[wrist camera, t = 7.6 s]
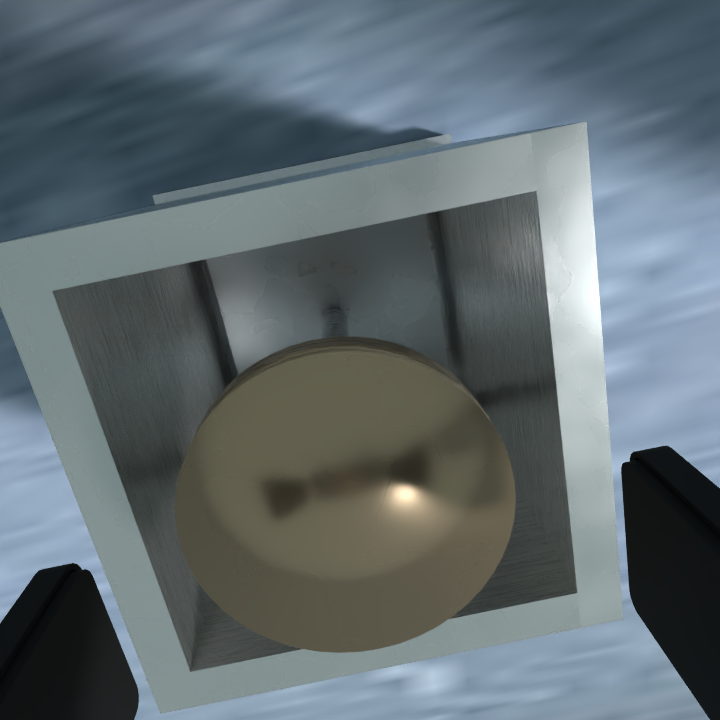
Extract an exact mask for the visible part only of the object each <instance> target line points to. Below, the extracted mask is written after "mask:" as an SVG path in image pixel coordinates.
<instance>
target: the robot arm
mask: <svg viewBox="0 0 720 720" xmlns="http://www.w3.org/2000/svg"><path fill="white" fill-rule="evenodd" d="M621 474H622V488H623V503H624V518H625V533H626V547H627V562H628V577H629V590H630V596H631V599H632V602H633V605H634V607H635V609H636V611H637V613H638V615H639V616H640V618H641V619H642V620H643V622H644V623H645V625H646V626H647V628H648V629H649V631H650V632H651V634H652V635H653V637H654V638H655V640H656V641H657V642H658V644H659V645H660V647H661V648H662V650H663V651H664V653H665V654H666V656H667V657H668V659H669V660H670V662H671V663H672V664H673V666H674V667H675V669H676V670H677V672H678V673H679V675H680V676H681V678H682V679H683V681H684V682H685V684H686V685H687V686H688V688H689V689H690V691H691V692H692V694H693V695H694V697H695V698H696V700H697V701H698V703H699V704H700V706H701V707H702V708H703V710H704V711H705V713H706V714H707V716H708V717H709V719H710V720H720V488H719V487H717V486H716V485H715V484H714V483H713V482H711V481H710V480H709V479H708V478H707V477H705V476H704V475H703V474H702V473H701V472H699V471H698V470H697V469H696V468H695V467H693V466H692V465H691V464H690V463H689V462H688V461H686V460H685V459H684V458H683V457H682V456H680V455H679V454H678V453H677V452H676V451H674V450H673V449H672V448H670V447H669V446H661V447H656V448H651V449H646V450H641V451H636V452H633V453H632V454H631V457H630V462H625V463H623V464H622V467H621ZM138 702H139V694H138V688H137V685H136V682H135V680H134V677H133V675H132V672H131V670H130V667H129V665H128V662H127V660H126V658H125V655H124V653H123V650H122V648H121V645H120V643H119V640H118V638H117V635H116V633H115V630H114V628H113V625H112V623H111V620H110V618H109V615H108V613H107V610H106V608H105V605H104V603H103V600H102V598H101V595H100V593H99V590H98V588H97V585H96V583H95V581H94V578H93V576H92V574H91V572H90V571H88V570H82V569H81V567H79V566H78V565H77V564H74V563H72V564H67V565H62V566H57V567H52V568H47V569H42V570H39V571H38V572H37V573H36V574H35V576H34V577H33V578H32V580H31V581H30V583H29V584H28V585H27V587H26V588H25V590H24V591H23V592H22V594H21V595H20V597H19V598H18V599H17V601H16V602H15V604H14V605H13V606H12V608H11V609H10V611H9V612H8V613H7V615H6V616H5V618H4V619H3V620H2V622H1V623H0V720H134V718H135V715H136V712H137V709H138Z"/></svg>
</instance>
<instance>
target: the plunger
mask: <svg viewBox="0 0 720 720" xmlns="http://www.w3.org/2000/svg"><path fill="white" fill-rule="evenodd" d="M206 260H207V264H208V267H209V271H210V274H211V278H212V282H213V285H214V289H215V292H216V296H217V300H218V303H219V307H220V311H221V314H222V318H223V321H224V325H225V329H226V332H227V336H228V339H229V343H230V347H231V350H232V354H233V358H234V361H235V365H236V368H237V372H238V376H237V377H235V378H234V379H233V380H232V381H231V382H230V383H229V384H228V385H227V386H226V387H225V388H224V389H223V390H222V392H221V393H220V394H219V395H218V397H217V398H216V399H215V401H214V402H213V403H212V405H211V406H210V407H209V409H208V410H207V412H206V414H205V416H204V418H203V420H202V421H201V423H200V425H199V427H198V429H197V431H196V433H195V436H194V438H193V440H192V442H191V444H190V446H189V448H188V450H187V453H186V456H185V458H184V461H183V464H182V467H181V469H180V473H179V478H178V483H177V487H176V496H175V518H176V528H177V533H178V537H179V541H180V545H181V549H182V552H183V554H184V556H185V559H186V561H187V563H188V566H189V568H190V570H191V571H192V573H193V575H194V576H195V578H196V580H197V581H198V583H199V585H200V586H201V587H202V588H203V590H204V591H205V592H206V593H207V594H208V596H209V597H210V598H211V599H212V600H213V601H214V602H215V603H216V604H217V605H218V606H219V607H220V608H221V609H222V610H223V611H224V612H225V613H226V614H228V615H229V616H231V617H232V618H233V619H235V620H236V621H237V622H239V623H240V624H241V625H243V626H245V627H247V628H248V629H250V630H252V631H254V632H256V633H257V634H259V635H261V636H264V637H266V638H269V639H271V640H273V641H276V642H278V643H282V644H285V645H289V646H292V647H296V648H300V649H306V650H312V651H318V652H333V653H346V652H362V651H369V650H375V649H381V648H385V647H389V646H392V645H396V644H400V643H402V642H405V641H408V640H410V639H413V638H416V637H418V636H420V635H422V634H424V633H426V632H428V631H430V630H432V629H434V628H436V627H438V626H439V625H441V624H442V623H444V622H445V621H447V620H448V619H450V618H451V617H453V616H454V615H455V614H456V613H458V612H459V611H460V610H461V609H462V608H464V607H465V606H466V605H467V604H468V603H469V602H470V601H471V600H472V599H473V598H474V597H475V596H476V595H477V594H478V593H479V592H480V591H481V590H482V588H483V587H484V586H485V584H486V583H487V582H488V580H489V579H490V577H491V576H492V575H493V573H494V571H495V570H496V568H497V566H498V564H499V562H500V561H501V559H502V557H503V555H504V552H505V549H506V547H507V544H508V542H509V539H510V535H511V531H512V527H513V523H514V516H515V505H516V495H515V481H514V476H513V471H512V466H511V462H510V459H509V456H508V454H507V451H506V448H505V446H504V443H503V441H502V440H501V438H500V436H499V434H498V432H497V431H496V429H495V427H494V425H493V424H492V422H491V421H490V419H489V418H488V416H487V415H486V413H485V411H484V410H483V408H482V407H481V405H480V404H479V402H478V401H477V400H476V399H475V397H474V396H473V395H472V393H471V392H470V391H469V389H468V388H467V387H466V386H465V385H464V384H463V383H462V382H461V381H460V380H459V379H458V378H457V377H456V376H455V375H454V374H453V373H451V372H450V371H449V365H448V358H447V352H446V346H445V340H444V333H443V327H442V321H441V314H440V308H439V302H438V296H437V289H436V283H435V277H434V271H433V264H432V258H431V252H430V245H429V239H428V233H427V227H426V220H425V214H421V215H416V216H412V217H407V218H402V219H397V220H392V221H388V222H383V223H378V224H373V225H368V226H363V227H359V228H354V229H349V230H344V231H339V232H334V233H330V234H325V235H320V236H315V237H310V238H305V239H301V240H296V241H291V242H286V243H281V244H276V245H272V246H267V247H262V248H257V249H252V250H248V251H243V252H238V253H233V254H228V255H223V256H219V257H214V258H209V259H206Z"/></svg>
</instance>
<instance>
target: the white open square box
mask: <svg viewBox="0 0 720 720" xmlns="http://www.w3.org/2000/svg"><path fill="white" fill-rule="evenodd" d="M152 196H153V199H154V203H155V205H151V206H147V207H143V208H139V209H135V210H131V211H126V212H122V213H118V214H114V215H110V216H106V217H102V218H98V219H94V220H89V221H85V222H81V223H77V224H73V225H69V226H65V227H61V228H57V229H53V230H48V231H44V232H40V233H36V234H32V235H28V236H24V237H20V238H16V239H12V240H7V241H3V242H0V307H1V310H2V312H3V315H4V317H5V320H6V322H7V325H8V327H9V330H10V332H11V335H12V338H13V340H14V343H15V345H16V348H17V350H18V353H19V355H20V358H21V360H22V363H23V366H24V368H25V371H26V373H27V376H28V378H29V381H30V383H31V386H32V388H33V391H34V393H35V396H36V399H37V401H38V404H39V406H40V409H41V411H42V414H43V416H44V419H45V421H46V424H47V427H48V429H49V432H50V434H51V437H52V439H53V442H54V444H55V447H56V449H57V452H58V455H59V457H60V460H61V462H62V465H63V467H64V470H65V472H66V475H67V477H68V480H69V482H70V485H71V488H72V490H73V493H74V495H75V498H76V500H77V503H78V505H79V508H80V510H81V513H82V516H83V518H84V521H85V523H86V526H87V528H88V531H89V533H90V536H91V538H92V541H93V544H94V546H95V549H96V551H97V554H98V556H99V559H100V561H101V564H102V566H103V569H104V571H105V574H106V577H107V579H108V582H109V584H110V587H111V589H112V592H113V594H114V597H115V599H116V602H117V605H118V607H119V610H120V612H121V615H122V617H123V620H124V622H125V625H126V627H127V630H128V632H129V635H130V638H131V640H132V643H133V645H134V648H135V650H136V653H137V655H138V658H139V660H140V663H141V666H142V668H143V671H144V673H145V676H146V678H147V681H148V683H149V686H150V688H151V691H152V694H153V696H154V699H155V701H156V704H157V706H158V709H159V711H160V714H161V713H166V712H171V711H176V710H181V709H186V708H191V707H196V706H200V705H205V704H210V703H215V702H220V701H225V700H230V699H235V698H240V697H245V696H249V695H254V694H259V693H264V692H269V691H274V690H279V689H284V688H289V687H294V686H298V685H303V684H308V683H313V682H318V681H323V680H328V679H333V678H338V677H343V676H347V675H352V674H357V673H362V672H367V671H372V670H377V669H382V668H387V667H392V666H396V665H401V664H406V663H411V662H416V661H421V660H426V659H431V658H436V657H441V656H446V655H450V654H455V653H460V652H465V651H470V650H475V649H480V648H485V647H490V646H495V645H499V644H504V643H509V642H514V641H519V640H524V639H529V638H534V637H539V636H544V635H548V634H553V633H558V632H563V631H568V630H573V629H578V628H583V627H588V626H593V625H597V624H602V623H607V622H612V621H617V620H622V619H623V610H622V597H621V583H620V570H619V556H618V543H617V529H616V516H615V502H614V488H613V475H612V461H611V448H610V434H609V421H608V407H607V394H606V380H605V367H604V353H603V339H602V326H601V312H600V299H599V285H598V272H597V258H596V245H595V231H594V218H593V204H592V190H591V177H590V163H589V150H588V136H587V123H586V122H580V123H574V124H567V125H561V126H555V127H549V128H542V129H536V130H530V131H524V132H517V133H511V134H505V135H499V136H492V137H486V138H480V139H474V140H467V141H461V142H455V143H452V139H451V134H446V135H441V136H436V137H431V138H427V139H422V140H417V141H412V142H407V143H403V144H398V145H393V146H388V147H383V148H378V149H374V150H369V151H364V152H359V153H354V154H350V155H345V156H340V157H335V158H330V159H325V160H321V161H316V162H311V163H306V164H301V165H297V166H292V167H287V168H282V169H277V170H273V171H268V172H263V173H258V174H253V175H248V176H244V177H239V178H234V179H229V180H224V181H220V182H215V183H210V184H205V185H200V186H195V187H191V188H186V189H181V190H176V191H171V192H167V193H162V194H157V195H152ZM421 214H425V220H426V227H427V233H428V239H429V245H430V252H431V258H432V264H433V271H434V277H435V283H436V289H437V296H438V302H439V308H440V314H441V321H442V327H443V333H444V340H445V346H446V352H447V358H448V365H449V371H450V372H451V373H453V374H454V375H455V376H456V377H457V378H458V379H459V380H460V381H461V382H462V383H463V384H464V385H465V386H466V387H467V388H468V389H469V391H470V392H471V393H472V395H473V396H474V397H475V399H476V400H477V401H478V402H479V404H480V405H481V407H482V408H483V410H484V411H485V413H486V415H487V416H488V418H489V419H490V421H491V422H492V424H493V425H494V427H495V429H496V431H497V432H498V434H499V436H500V438H501V440H502V441H503V443H504V446H505V448H506V451H507V454H508V456H509V459H510V462H511V466H512V471H513V476H514V481H515V495H516V505H515V516H514V523H513V527H512V531H511V535H510V539H509V542H508V544H507V547H506V549H505V552H504V555H503V557H502V559H501V561H500V562H499V564H498V566H497V568H496V570H495V571H494V573H493V575H492V576H491V577H490V579H489V580H488V582H487V583H486V584H485V586H484V587H483V588H482V590H481V591H480V592H479V593H478V594H477V595H476V596H475V597H474V598H473V599H472V600H471V601H470V602H469V603H468V604H467V605H466V606H465V607H464V608H462V609H461V610H460V611H459V612H458V613H456V614H455V615H454V616H453V617H451V618H450V619H448V620H447V621H445V622H444V623H442V624H441V625H439V626H438V627H436V628H434V629H432V630H430V631H428V632H426V633H424V634H422V635H420V636H418V637H416V638H413V639H410V640H408V641H405V642H402V643H400V644H396V645H392V646H389V647H385V648H381V649H375V650H369V651H362V652H346V653H333V652H318V651H312V650H306V649H300V648H296V647H292V646H289V645H285V644H282V643H278V642H276V641H273V640H271V639H269V638H266V637H264V636H261V635H259V634H257V633H256V632H254V631H252V630H250V629H248V628H247V627H245V626H243V625H241V624H240V623H239V622H237V621H236V620H235V619H233V618H232V617H231V616H229V615H228V614H226V613H225V612H224V611H223V610H222V609H221V608H220V607H219V606H218V605H217V604H216V603H215V602H214V601H213V600H212V599H211V598H210V597H209V596H208V594H207V593H206V592H205V591H204V590H203V588H202V587H201V586H200V585H199V583H198V581H197V580H196V578H195V576H194V575H193V573H192V571H191V570H190V568H189V566H188V563H187V561H186V559H185V556H184V554H183V552H182V549H181V545H180V541H179V537H178V533H177V528H176V518H175V496H176V487H177V483H178V478H179V473H180V469H181V467H182V464H183V461H184V458H185V456H186V453H187V450H188V448H189V446H190V444H191V442H192V440H193V438H194V436H195V433H196V431H197V429H198V427H199V425H200V423H201V421H202V420H203V418H204V416H205V414H206V412H207V410H208V409H209V407H210V406H211V405H212V403H213V402H214V401H215V399H216V398H217V397H218V395H219V394H220V393H221V392H222V390H223V389H224V388H225V387H226V386H227V385H228V384H229V383H230V382H231V381H232V380H233V379H234V378H235V377H237V376H238V372H237V368H236V365H235V361H234V358H233V354H232V350H231V347H230V343H229V339H228V336H227V332H226V329H225V325H224V321H223V318H222V314H221V311H220V307H219V303H218V300H217V296H216V292H215V289H214V285H213V282H212V278H211V274H210V271H209V267H208V264H207V260H206V259H209V258H214V257H219V256H223V255H228V254H233V253H238V252H243V251H248V250H252V249H257V248H262V247H267V246H272V245H276V244H281V243H286V242H291V241H296V240H301V239H305V238H310V237H315V236H320V235H325V234H330V233H334V232H339V231H344V230H349V229H354V228H359V227H363V226H368V225H373V224H378V223H383V222H388V221H392V220H397V219H402V218H407V217H412V216H416V215H421Z"/></svg>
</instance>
